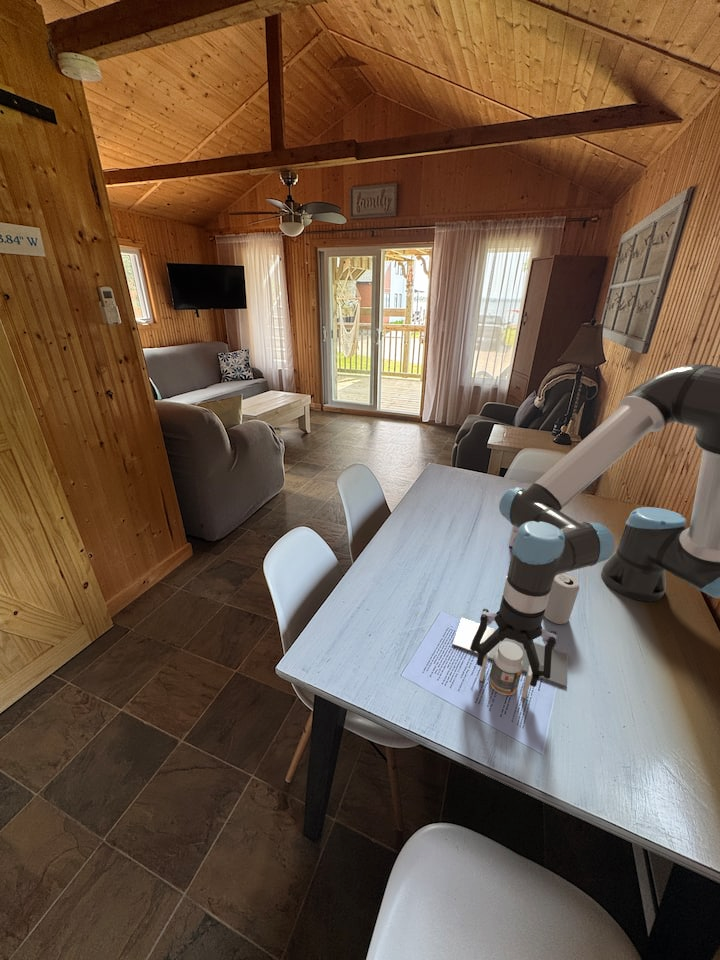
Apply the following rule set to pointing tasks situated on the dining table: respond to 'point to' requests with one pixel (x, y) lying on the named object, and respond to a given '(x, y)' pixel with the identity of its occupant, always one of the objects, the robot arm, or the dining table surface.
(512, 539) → the supplement box
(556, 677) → the slate board
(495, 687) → the pill bottle
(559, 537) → the robot arm
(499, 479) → the dining table surface
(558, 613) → the beverage can
